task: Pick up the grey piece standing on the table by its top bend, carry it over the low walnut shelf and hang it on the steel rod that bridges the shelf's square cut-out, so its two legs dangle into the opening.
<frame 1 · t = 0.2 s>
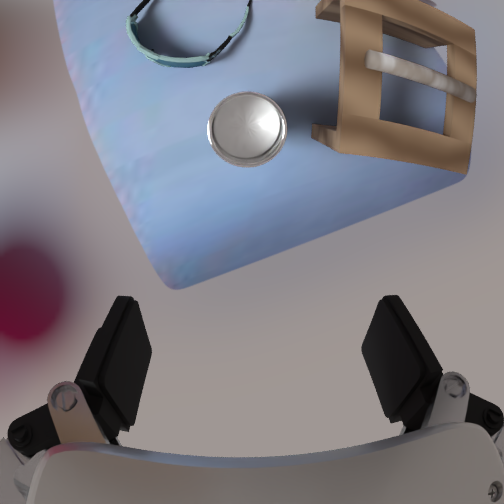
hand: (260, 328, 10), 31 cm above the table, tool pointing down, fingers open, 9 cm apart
sunglasses: (188, 21, 27), on the table
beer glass: (245, 120, 35), on the table
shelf: (375, 79, 31), on the table
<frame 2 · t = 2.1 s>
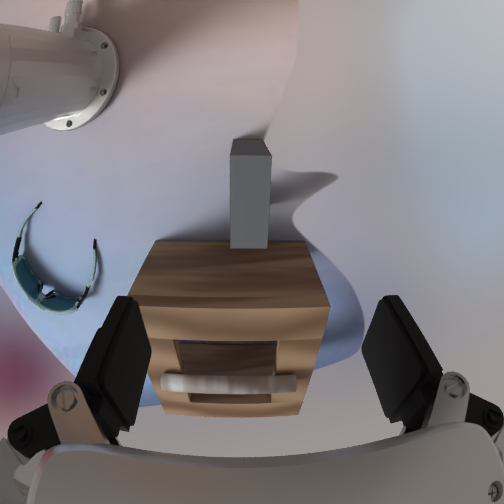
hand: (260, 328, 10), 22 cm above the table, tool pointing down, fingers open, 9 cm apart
sunglasses: (57, 256, 34), on the table
grey piece: (247, 174, 30), on the table
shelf: (230, 305, 38), on the table
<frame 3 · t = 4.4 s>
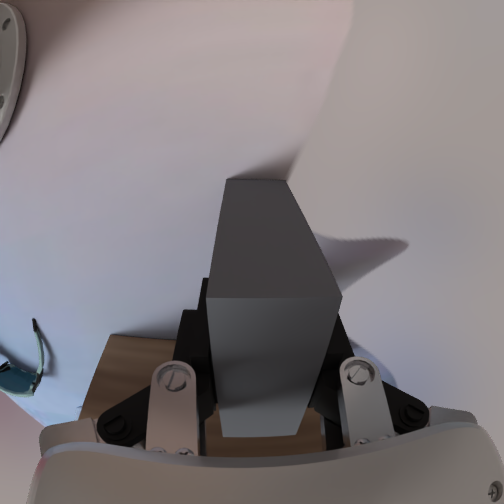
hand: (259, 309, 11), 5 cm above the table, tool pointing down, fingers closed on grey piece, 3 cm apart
sunglasses: (1, 326, 21), on the table
grey piece: (253, 245, 16), on the table, touching gripper
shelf: (227, 406, 25), on the table
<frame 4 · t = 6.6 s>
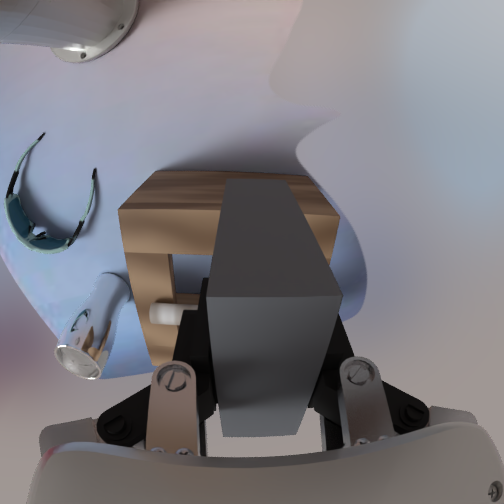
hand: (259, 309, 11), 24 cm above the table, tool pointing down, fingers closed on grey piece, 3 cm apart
sunglasses: (53, 193, 32), on the table
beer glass: (112, 287, 40), on the table
grey piece: (253, 244, 16), point 18 cm above the table, touching gripper
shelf: (228, 246, 37), on the table
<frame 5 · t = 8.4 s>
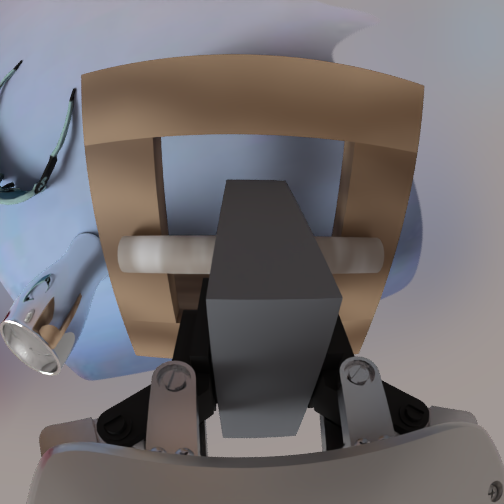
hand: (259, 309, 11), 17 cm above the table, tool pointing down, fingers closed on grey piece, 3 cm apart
sunglasses: (25, 131, 21), on the table
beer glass: (92, 254, 29), on the table
grey piece: (253, 245, 16), point 12 cm above the table, touching gripper
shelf: (247, 183, 26), on the table
when the fingers open (15 cm above the table, at t = 9.1 s): grey piece drops 2 cm, resting on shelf.
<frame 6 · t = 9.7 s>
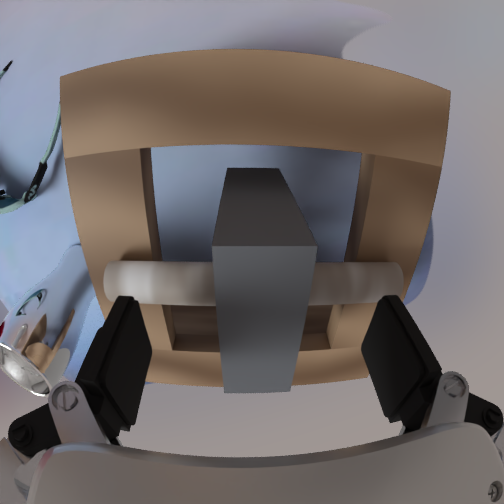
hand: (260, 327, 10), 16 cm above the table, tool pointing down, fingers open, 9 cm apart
sunglasses: (15, 136, 20), on the table
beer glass: (86, 267, 27), on the table
grey piece: (251, 226, 18), point 7 cm above the table, touching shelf
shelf: (249, 193, 24), on the table
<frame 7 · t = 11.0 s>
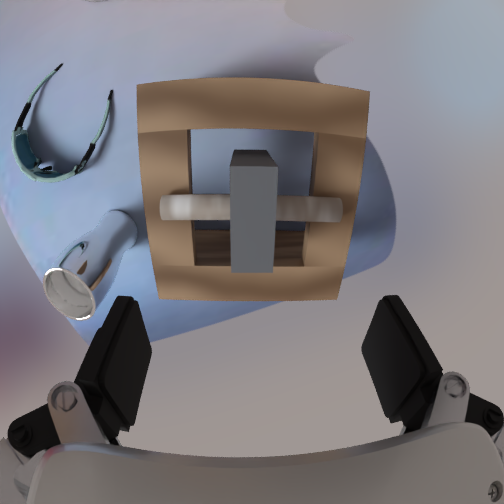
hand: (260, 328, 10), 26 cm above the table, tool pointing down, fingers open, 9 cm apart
sunglasses: (64, 123, 29), on the table
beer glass: (118, 229, 36), on the table
grey piece: (249, 188, 27), point 7 cm above the table, touching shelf
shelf: (248, 169, 33), on the table
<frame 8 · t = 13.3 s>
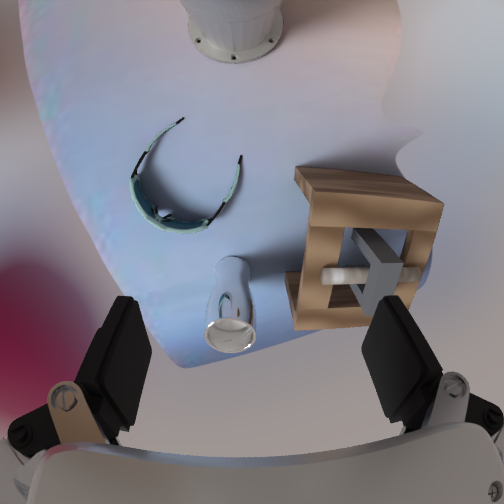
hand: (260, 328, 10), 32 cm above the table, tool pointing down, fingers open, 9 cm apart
sunglasses: (185, 176, 40), on the table
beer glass: (232, 270, 48), on the table
grey piece: (358, 252, 39), point 7 cm above the table, touching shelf
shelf: (343, 230, 45), on the table
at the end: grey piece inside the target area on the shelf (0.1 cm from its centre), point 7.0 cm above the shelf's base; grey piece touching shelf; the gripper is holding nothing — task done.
